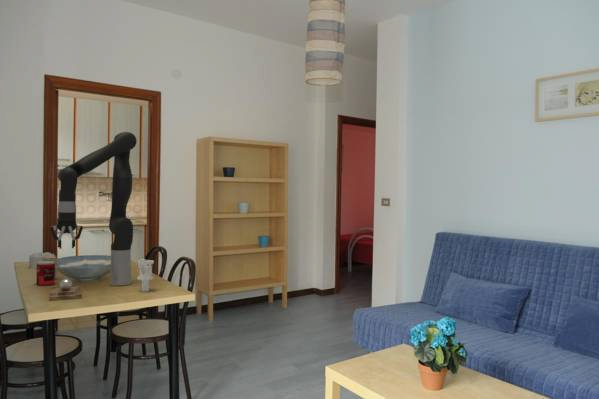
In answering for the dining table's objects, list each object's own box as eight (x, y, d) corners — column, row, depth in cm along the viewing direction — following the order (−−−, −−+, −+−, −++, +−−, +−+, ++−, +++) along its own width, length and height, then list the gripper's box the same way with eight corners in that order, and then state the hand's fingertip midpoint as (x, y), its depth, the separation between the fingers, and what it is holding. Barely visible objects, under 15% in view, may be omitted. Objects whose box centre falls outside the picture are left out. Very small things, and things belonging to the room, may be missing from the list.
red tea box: (59, 279, 237) (59, 256, 237) (43, 281, 231) (43, 257, 231) (54, 278, 241) (55, 255, 241) (38, 279, 235) (39, 256, 235)
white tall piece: (134, 291, 213) (134, 258, 213) (146, 288, 219) (147, 257, 219) (143, 293, 209) (144, 260, 209) (156, 290, 215) (156, 258, 215)
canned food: (40, 283, 227) (41, 260, 227) (57, 283, 228) (57, 261, 228) (33, 286, 220) (33, 263, 220) (50, 286, 221) (50, 263, 220)
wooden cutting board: (80, 289, 215) (80, 286, 214) (81, 298, 197) (81, 294, 197) (51, 291, 209) (51, 288, 209) (49, 300, 191) (49, 297, 191)
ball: (72, 288, 209) (72, 277, 209) (72, 290, 204) (72, 279, 204) (59, 289, 207) (59, 278, 207) (59, 291, 202) (59, 280, 202)
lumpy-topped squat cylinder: (28, 267, 274) (28, 252, 274) (52, 265, 282) (52, 251, 282) (32, 269, 266) (32, 254, 266) (57, 267, 275) (57, 253, 275)
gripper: (83, 211, 219) (83, 247, 219) (49, 211, 213) (49, 248, 213) (84, 211, 212) (83, 248, 212) (49, 211, 206) (48, 249, 206)
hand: (66, 248), depth 213 cm, fingers open, 4 cm apart
